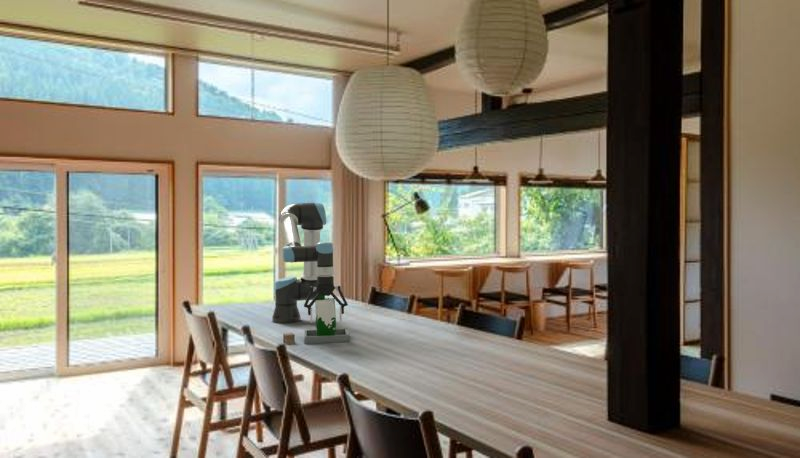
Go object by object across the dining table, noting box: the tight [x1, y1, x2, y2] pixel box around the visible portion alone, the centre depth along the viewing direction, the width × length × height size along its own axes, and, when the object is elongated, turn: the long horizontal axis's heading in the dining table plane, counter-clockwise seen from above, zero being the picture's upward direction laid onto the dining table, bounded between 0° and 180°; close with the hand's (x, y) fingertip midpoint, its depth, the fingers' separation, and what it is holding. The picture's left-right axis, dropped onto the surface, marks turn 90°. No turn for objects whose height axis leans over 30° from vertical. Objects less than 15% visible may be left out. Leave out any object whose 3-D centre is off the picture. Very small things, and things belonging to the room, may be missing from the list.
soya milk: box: [314, 295, 337, 336], centre depth 283 cm, size 9×9×20 cm
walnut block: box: [282, 332, 296, 345], centre depth 277 cm, size 4×4×4 cm
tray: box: [303, 328, 350, 345], centre depth 283 cm, size 16×20×3 cm
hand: (326, 321), depth 283 cm, fingers open, 13 cm apart
